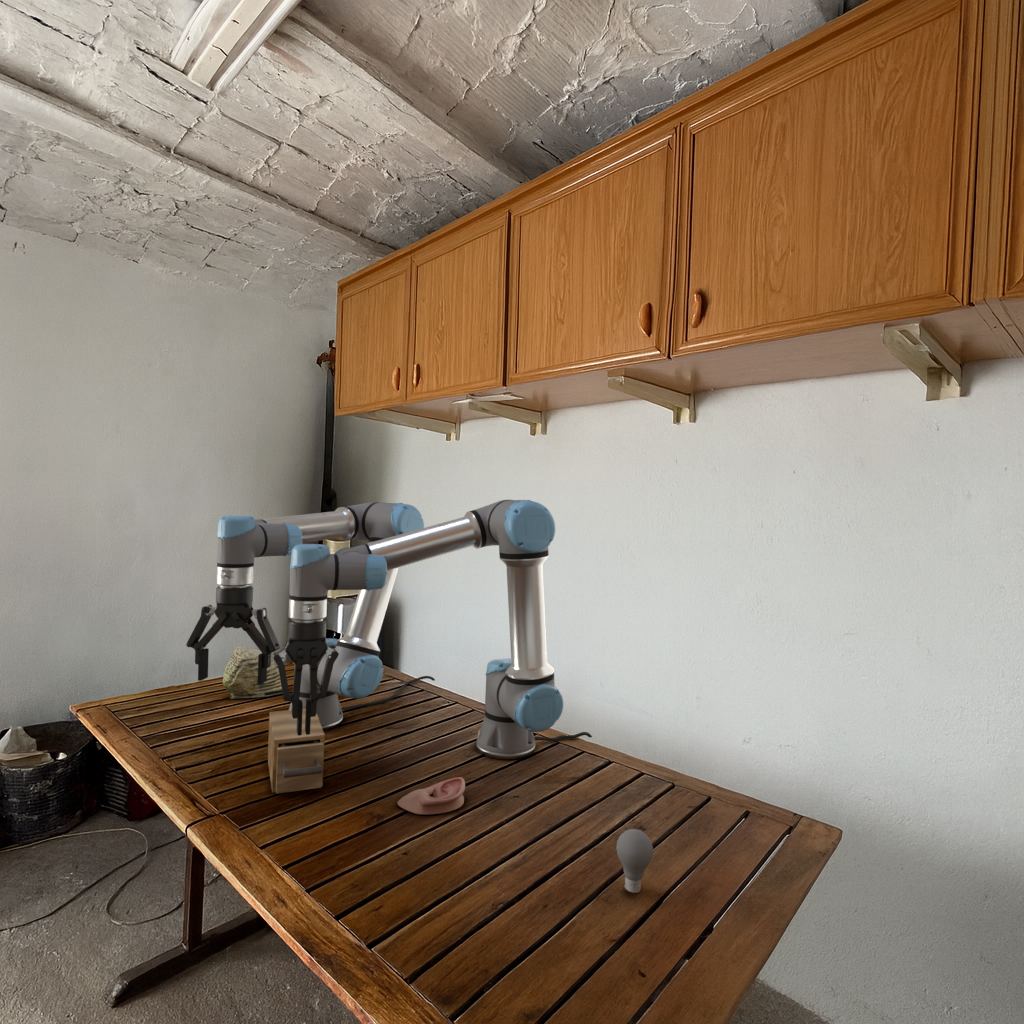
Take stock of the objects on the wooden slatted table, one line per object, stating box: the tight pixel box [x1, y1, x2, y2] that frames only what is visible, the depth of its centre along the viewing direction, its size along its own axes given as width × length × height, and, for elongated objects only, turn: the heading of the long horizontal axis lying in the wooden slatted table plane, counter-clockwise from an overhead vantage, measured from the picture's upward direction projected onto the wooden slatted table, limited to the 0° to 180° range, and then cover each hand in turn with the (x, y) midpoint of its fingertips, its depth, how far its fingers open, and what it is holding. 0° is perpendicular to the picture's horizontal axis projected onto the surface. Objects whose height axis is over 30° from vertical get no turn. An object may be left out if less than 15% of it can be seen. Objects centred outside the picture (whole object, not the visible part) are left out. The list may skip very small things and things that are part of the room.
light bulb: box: [615, 828, 654, 894], centre depth 106 cm, size 6×6×10 cm
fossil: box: [222, 646, 283, 699], centre depth 198 cm, size 9×18×15 cm, turn 132°
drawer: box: [275, 740, 324, 794], centre depth 139 cm, size 23×9×9 cm, turn 24°
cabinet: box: [267, 709, 326, 794], centre depth 145 cm, size 18×10×11 cm, turn 24°
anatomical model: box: [397, 776, 466, 816], centre depth 133 cm, size 13×4×12 cm
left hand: (232, 680), depth 140 cm, fingers open, 13 cm apart
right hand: (303, 732), depth 131 cm, fingers closed
